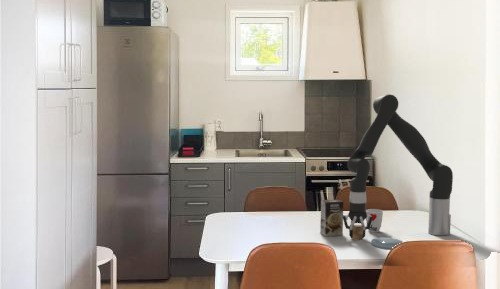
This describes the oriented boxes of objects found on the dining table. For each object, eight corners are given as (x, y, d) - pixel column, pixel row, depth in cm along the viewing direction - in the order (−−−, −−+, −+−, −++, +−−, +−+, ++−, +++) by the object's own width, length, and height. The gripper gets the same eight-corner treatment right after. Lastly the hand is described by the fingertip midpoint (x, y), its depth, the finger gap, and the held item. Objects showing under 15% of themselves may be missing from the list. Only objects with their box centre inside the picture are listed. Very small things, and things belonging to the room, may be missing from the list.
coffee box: (325, 236, 262) (325, 202, 260) (319, 233, 268) (320, 199, 267) (343, 235, 264) (343, 201, 263) (337, 231, 271) (337, 198, 269)
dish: (400, 240, 255) (400, 237, 254) (406, 249, 241) (406, 246, 241) (368, 240, 255) (368, 237, 255) (373, 248, 241) (373, 245, 241)
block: (361, 237, 260) (361, 224, 259) (362, 240, 255) (363, 227, 255) (351, 237, 260) (351, 224, 259) (352, 240, 256) (353, 227, 255)
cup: (361, 230, 273) (362, 210, 272) (372, 228, 278) (372, 208, 277) (375, 234, 266) (375, 213, 265) (385, 231, 272) (386, 210, 271)
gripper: (372, 199, 259) (371, 235, 261) (341, 199, 260) (340, 235, 262) (375, 202, 252) (374, 240, 254) (342, 202, 253) (342, 239, 254)
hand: (357, 237), depth 258 cm, fingers closed on block, 4 cm apart
